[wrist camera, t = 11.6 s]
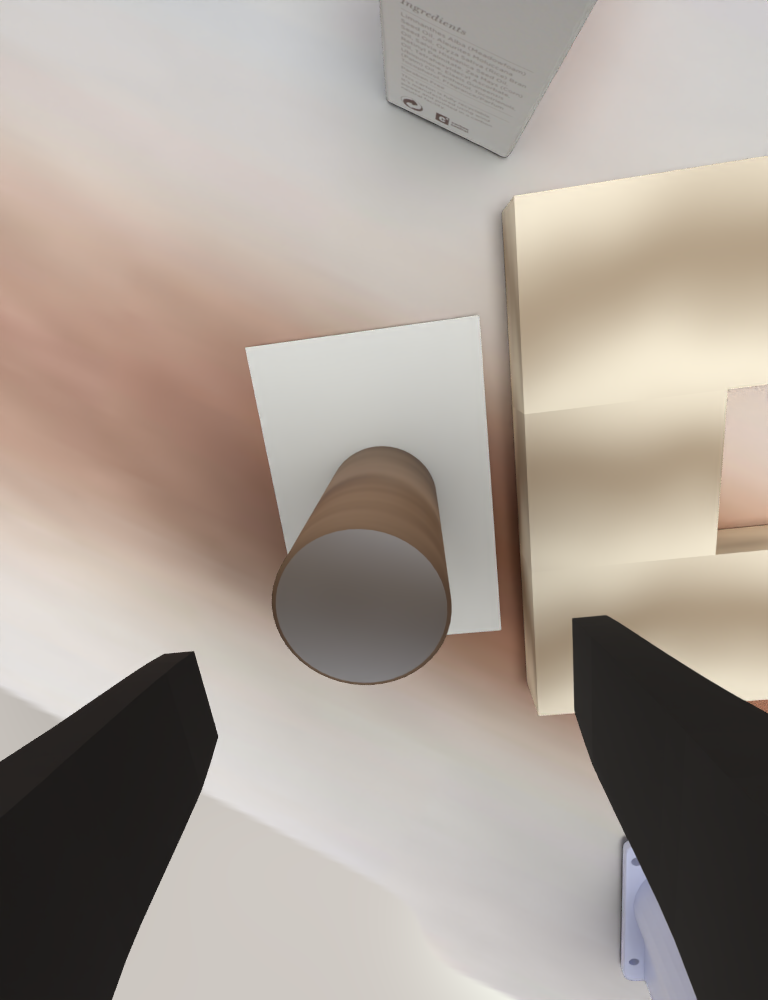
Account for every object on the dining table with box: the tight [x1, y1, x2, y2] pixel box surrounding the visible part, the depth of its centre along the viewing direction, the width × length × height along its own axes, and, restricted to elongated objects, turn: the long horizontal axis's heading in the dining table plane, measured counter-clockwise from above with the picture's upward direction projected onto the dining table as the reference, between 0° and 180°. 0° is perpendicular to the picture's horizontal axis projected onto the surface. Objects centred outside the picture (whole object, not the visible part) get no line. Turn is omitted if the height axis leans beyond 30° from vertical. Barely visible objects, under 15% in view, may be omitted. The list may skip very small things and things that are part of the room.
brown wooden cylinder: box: [272, 446, 452, 685], centre depth 15 cm, size 4×4×8 cm
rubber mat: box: [245, 315, 501, 635], centre depth 19 cm, size 12×8×1 cm, turn 8°
